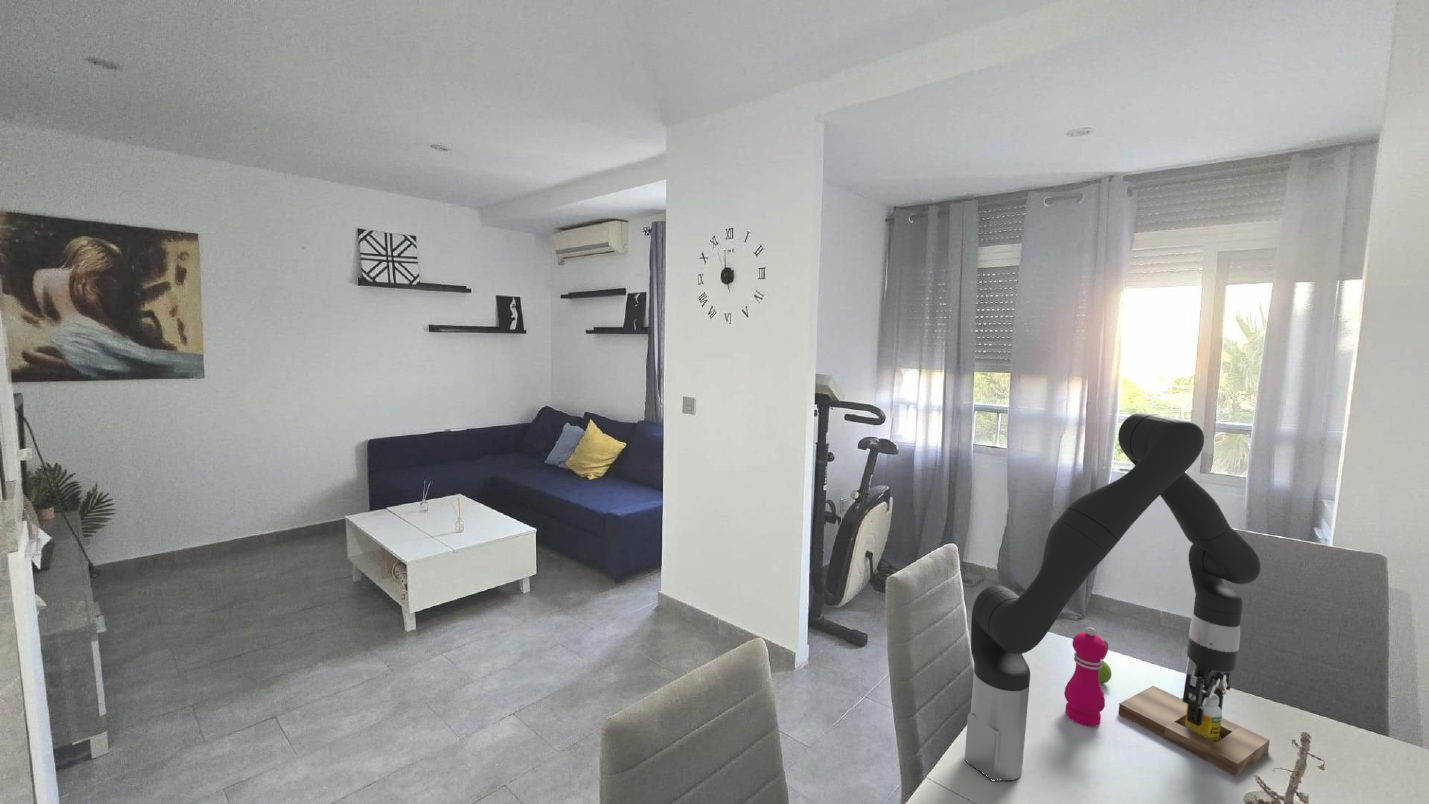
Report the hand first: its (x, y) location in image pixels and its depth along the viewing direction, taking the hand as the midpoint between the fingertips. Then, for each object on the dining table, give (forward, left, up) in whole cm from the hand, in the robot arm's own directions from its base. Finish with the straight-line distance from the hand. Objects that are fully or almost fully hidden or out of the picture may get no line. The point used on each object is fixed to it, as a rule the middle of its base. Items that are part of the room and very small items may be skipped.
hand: (1204, 716), depth 117 cm
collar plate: (0, +2, -5) cm, 5 cm away
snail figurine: (+1, +21, -5) cm, 22 cm away
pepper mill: (-15, +15, -5) cm, 22 cm away
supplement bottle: (0, 0, -5) cm, 5 cm away
